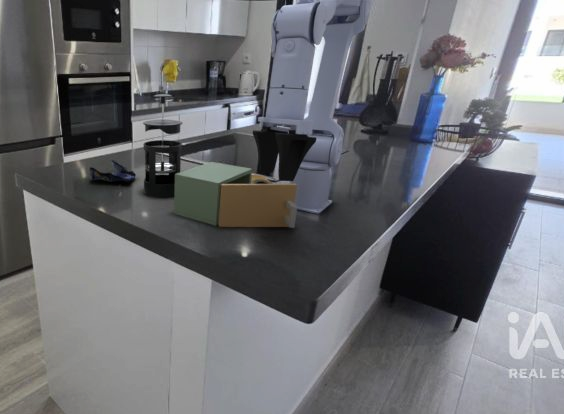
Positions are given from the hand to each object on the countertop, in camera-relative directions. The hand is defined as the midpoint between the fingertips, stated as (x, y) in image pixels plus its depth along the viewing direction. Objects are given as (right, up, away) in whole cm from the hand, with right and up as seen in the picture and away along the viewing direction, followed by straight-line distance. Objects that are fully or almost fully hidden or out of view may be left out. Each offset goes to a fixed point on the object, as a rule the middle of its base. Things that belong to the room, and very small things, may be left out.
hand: (275, 176), depth 62 cm
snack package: (-30, +2, +40) cm, 50 cm away
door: (-1, -9, +8) cm, 12 cm away
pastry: (+6, -1, +32) cm, 33 cm away
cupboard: (-7, -6, +18) cm, 21 cm away
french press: (-17, -1, +31) cm, 35 cm away
